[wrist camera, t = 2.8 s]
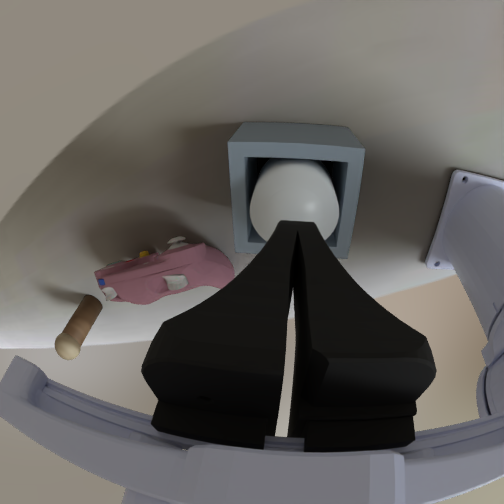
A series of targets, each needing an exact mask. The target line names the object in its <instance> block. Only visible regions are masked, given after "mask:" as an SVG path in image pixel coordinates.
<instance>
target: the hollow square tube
mask: <svg viewBox="0 0 504 504" xmlns="http://www.w3.org/2000/svg"><path fill="white" fill-rule="evenodd" d="M364 155H365V148H364V147H363V145H362V144H361V143H360V142H359V140H358V139H357V138H356V137H355V135H354V134H353V133H352V132H351V130H350V129H349V128H348V127H342V126H331V125H319V124H303V123H279V122H243V124H242V125H241V126H240V127H239V128H238V130H237V131H236V132H235V133H234V135H233V136H232V137H231V138H230V140H229V141H228V157H229V173H230V188H231V203H232V217H233V231H234V245H235V252H236V253H254V254H258V253H259V252H260V251H261V249H262V248H263V247H264V245H265V244H266V242H267V241H265V240H264V239H263V238H262V237H261V236H260V235H259V234H258V233H257V231H256V230H255V228H254V226H253V224H252V222H251V218H250V204H251V199H252V196H253V193H254V189H255V186H256V183H257V157H273V158H297V159H314V160H328V161H333V170H332V183H333V187H334V190H335V194H336V197H337V201H338V205H339V218H338V222H337V225H336V227H335V229H334V231H333V232H332V233H331V235H330V236H329V237H328V238H327V239H326V240H325V242H326V243H327V245H328V246H329V248H330V249H331V251H332V252H333V254H334V255H335V257H336V258H342V259H347V258H348V253H349V248H350V243H351V238H352V233H353V227H354V222H355V216H356V210H357V204H358V198H359V192H360V185H361V178H362V171H363V163H364Z"/></svg>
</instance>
